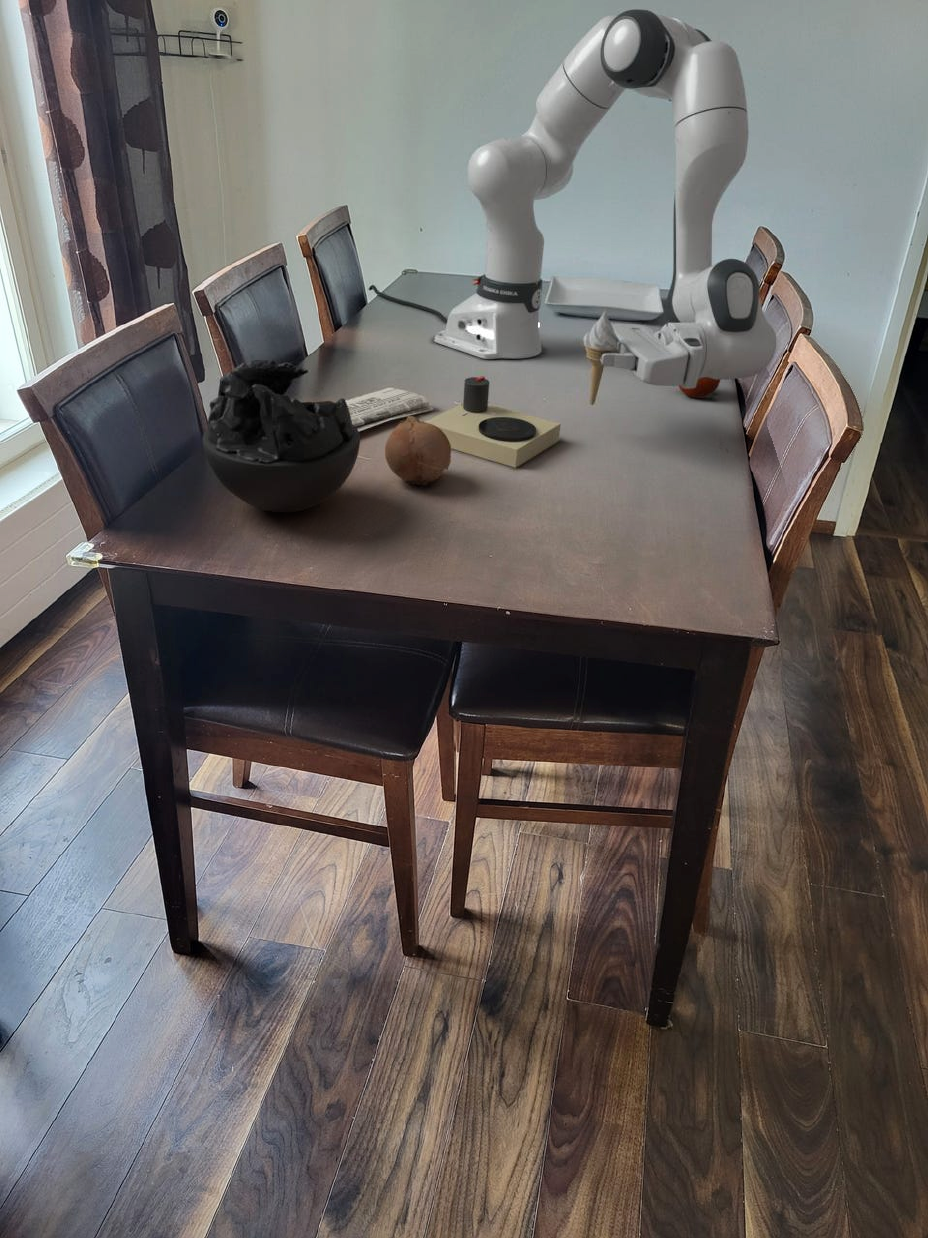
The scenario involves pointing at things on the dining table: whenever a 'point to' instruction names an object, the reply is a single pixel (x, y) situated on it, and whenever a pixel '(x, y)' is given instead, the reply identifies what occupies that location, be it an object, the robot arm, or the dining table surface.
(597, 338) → the ice cream cone
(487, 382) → the hob knob
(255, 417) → the coal bowl
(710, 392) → the fruit
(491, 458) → the hob
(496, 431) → the burner
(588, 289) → the square plate
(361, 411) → the newspaper
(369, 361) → the dining table surface
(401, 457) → the onion
